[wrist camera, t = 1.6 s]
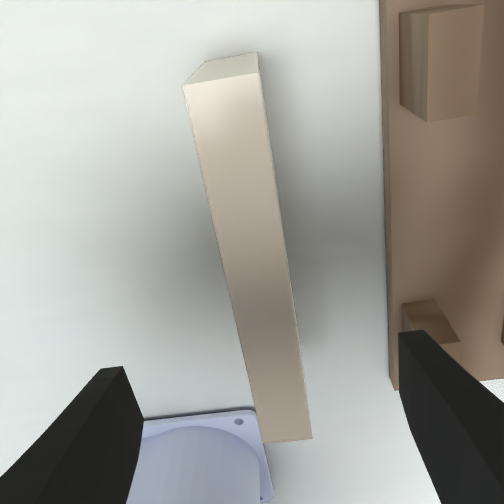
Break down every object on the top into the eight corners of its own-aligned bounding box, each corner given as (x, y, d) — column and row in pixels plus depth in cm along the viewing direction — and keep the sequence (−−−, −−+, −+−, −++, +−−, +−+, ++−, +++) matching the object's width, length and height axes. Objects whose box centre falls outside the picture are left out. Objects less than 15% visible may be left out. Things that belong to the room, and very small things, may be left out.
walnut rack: (389, 376, 24) (411, 439, 21) (377, -70, 15) (414, -93, 11) (524, 361, 24) (570, 422, 20) (600, -114, 14) (712, -154, 11)
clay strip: (261, 346, 24) (263, 443, 18) (204, 61, 17) (181, 85, 12) (299, 341, 23) (312, 438, 18) (257, 51, 17) (257, 72, 12)
